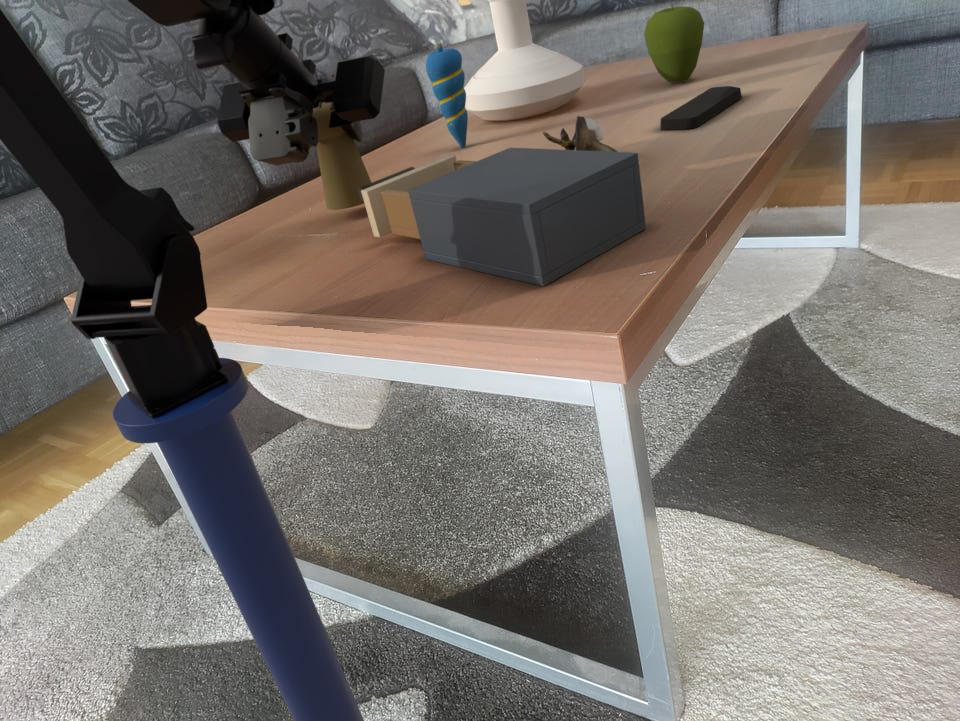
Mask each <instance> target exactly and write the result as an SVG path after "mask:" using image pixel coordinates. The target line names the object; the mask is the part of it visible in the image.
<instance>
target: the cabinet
mask: <svg viewBox="0 0 960 721" xmlns="http://www.w3.org/2000/svg"><path fill="white" fill-rule="evenodd" d="M642 188H643V187H642V180H641V170H640V163H639V154H638V152H627V151H617V152H606V151H581V150H566V149H558V148H557V149H555V148H553V149H552V148H529V147H508V148H505V149H504V150H500V151H498V152H496V153H494V154H491V155H489V156H486V157H484V158H481V159H479V160H477V162H474V163H472V164H470V165H467V166H465V167H462V168H460V169H458V170H455V171H453V172H450V173H448V174H446V175H443V176H441V177H438V178H436V179H434V180H431V181H429V182H426V183H424V184H422V185H419V186H417V187H414V188H412V189H410V190H408V193H409V197H410V201H411V205H412V209H413V212H414V216H415V220H416V224H417V228H418V232H419V236H420V239H419V240H420V244H421V247H422V251H423V255H424V257H425V260H427V261H433V262H437V263H440V264H446V265H449V266H454V267H459V268H463V269H467V270H470V271H471V270H472V271H475V272H480V273H483V274H484V273H485V274H489V275H494V276H498V277H501V278H506V279H510V280H514V281H519V282H524V283H527V284H532V285H537V286H540V287H545V286H547V285H549V284H551V283H553V282H555V281H557V280H558V279H560V278H561V277H564V276H565V275H567V274H569V273H571V272H572V271H574V270H575V269H577V268H579V267H581V266H583V265H585V264H586V263H588V262H590V261H591V260H594V259H595V258H596V257H598V256H600V255H602V254H604V253H605V252H607V251H609V250H611V249H613V248H614V247H616V246H618V245H620V244H621V243H623V242H625V241H627V240H629V239H630V238H632V237H634V236H636V235H638V234H639V233H641V232H643V231H644V230H646V229H647V228H646V226H647V225H646V216H645V206H644V198H643V189H642Z"/></svg>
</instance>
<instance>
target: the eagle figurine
mask: <svg viewBox="0 0 960 721" xmlns="http://www.w3.org/2000/svg"><path fill="white" fill-rule="evenodd" d="M542 134H543V136H544V137H545V138H546V140H548V141H549V142H551V143H553V144H557V145H559V146H561V148H564V150H581V151H606V152H618V150H616V149H615V148H613V147H612V146H609V145H607V144H605V143H603V142H601V141H602V140H604V134H603V131H602V129H601V126H600V125H599V122H598V121H596V120H595V119H594V118H591V117H585V116H579V115H577V116H576V120H575V129H574V134H573V136H572V139H570V136H569V134H568V132H567V131H566V129H565V128H564V127H562V128H561V130H560V138H557V137H555V136H553V135H551V134H549V132H546V131H543V132H542Z"/></svg>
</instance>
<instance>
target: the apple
mask: <svg viewBox="0 0 960 721" xmlns="http://www.w3.org/2000/svg"><path fill="white" fill-rule="evenodd" d="M702 16H703V15H702V14H701V12H700V11H699V10H697V9H696V8H694V7H693V6H681V5H680V6H673V3H672V2H671V7H667V8H663V9H661V10H658V11H655V12H654V14H653V15H651V17H650V18H649V19H648V20H647V21H646V24H645V29H644V33H643V37H644V40H645V41H644V42H645V45H646V48H647V52H648V53H647V54H648V55H649V57H650V59H651V61H652V64H653V65H654V67H655V69H656V71H657V74H659V75H660V76H661V77H662V78H663V79H664V80H665V81H666V82H667V83H668V84H673V83H674V84H676V83H681V82H687V81H689V80H690V78H691V77H692V75H693V73H694V71H695V69H696V68H697V65H698V60H699V57H700V52H701V48H702V45H703V37H704V30H705V21H704V19H703V17H702Z"/></svg>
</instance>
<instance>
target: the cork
mask: <svg viewBox="0 0 960 721" xmlns="http://www.w3.org/2000/svg"><path fill="white" fill-rule="evenodd" d="M330 108H331V107H328V105H327V104H326V103H322V106H321V108H320V109H318V110H313V115H312V116H314V117H315V119H316V121H317V126H318V144H317V146H316V147H317V148H316V147H315V148H316V154H317V158H318V164H319V170H320V176H321V182H322V187H323V188H322V189H323V194H324V199H325V205H326V209H327V210H330V211H332V210H333V211H338V210H346V209H351V208H355V207H358V206H361V205H365V203H364V201H362V200H361V199H360V197H359V195H358V188H360V187H362V186H365V185H367V184H370V183H372V179H371V177H370V175H369V172H368V170H367V168H366V166H365V163H364V161H363V159H362V155H361V154H360V151H359V149H358V146H357V144H356V140H354V139H353V138H352V137H351V136H350V135H348V134H347V133H346V132H345V131H344V130H343V129H342V128H341V127H334V128H329V123H330V116H331V110H330Z"/></svg>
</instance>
